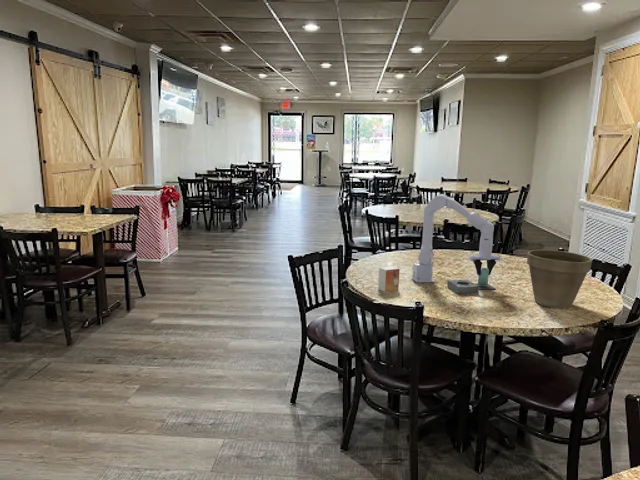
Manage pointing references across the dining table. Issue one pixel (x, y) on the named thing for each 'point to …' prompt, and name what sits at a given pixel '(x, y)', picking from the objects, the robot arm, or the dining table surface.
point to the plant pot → (557, 276)
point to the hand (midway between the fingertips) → (483, 274)
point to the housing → (463, 287)
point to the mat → (485, 287)
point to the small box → (388, 279)
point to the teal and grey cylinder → (483, 277)
